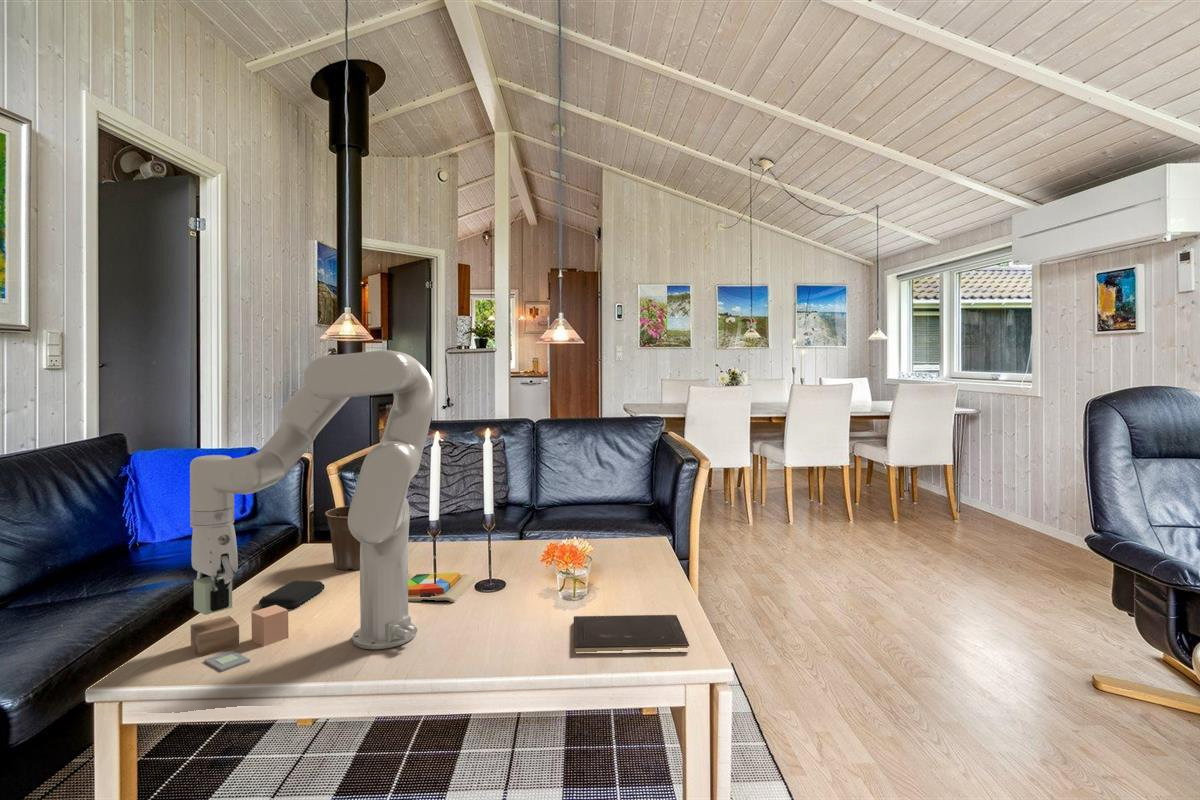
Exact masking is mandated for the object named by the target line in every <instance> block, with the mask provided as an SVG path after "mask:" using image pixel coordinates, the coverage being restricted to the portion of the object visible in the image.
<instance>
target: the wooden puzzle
mask: <svg viewBox="0 0 1200 800" xmlns="http://www.w3.org/2000/svg"><path fill="white" fill-rule="evenodd" d="M433 574H434V573H420V574H419V573H417V574H415V575H414V574H412V573H408V601H413V602H422V601H421V600H423V599H428V600H435V601H434V602H436V601H448V602H451V603H452V602H455V601H457V599H459V597H460V596H462V595H463V593H464V592H465V591H466V590H467V589H468V588H469V587H470V586H471V585H472V584H473V583H474V582H475V583H476V577H475V576H473V574H461V573H460V572H445V573H442V572H441V573H436V574H437V578H436V584H434V575H433ZM475 583H474V584H475ZM474 584H473V585H474ZM473 585H472V586H473ZM472 586H471V587H472ZM471 587H470V588H471ZM470 588H469V589H470ZM469 589H468V590H469ZM468 590H467V591H468ZM467 591H466V592H467ZM466 592H465V593H466ZM423 593H436V594H435V596H431V597H420V595H421V594H423ZM465 593H464V594H465ZM463 596H464V595H463ZM463 596H462V597H463ZM459 600H460V599H459ZM457 602H458V601H457ZM455 603H456V602H455Z"/></svg>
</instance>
